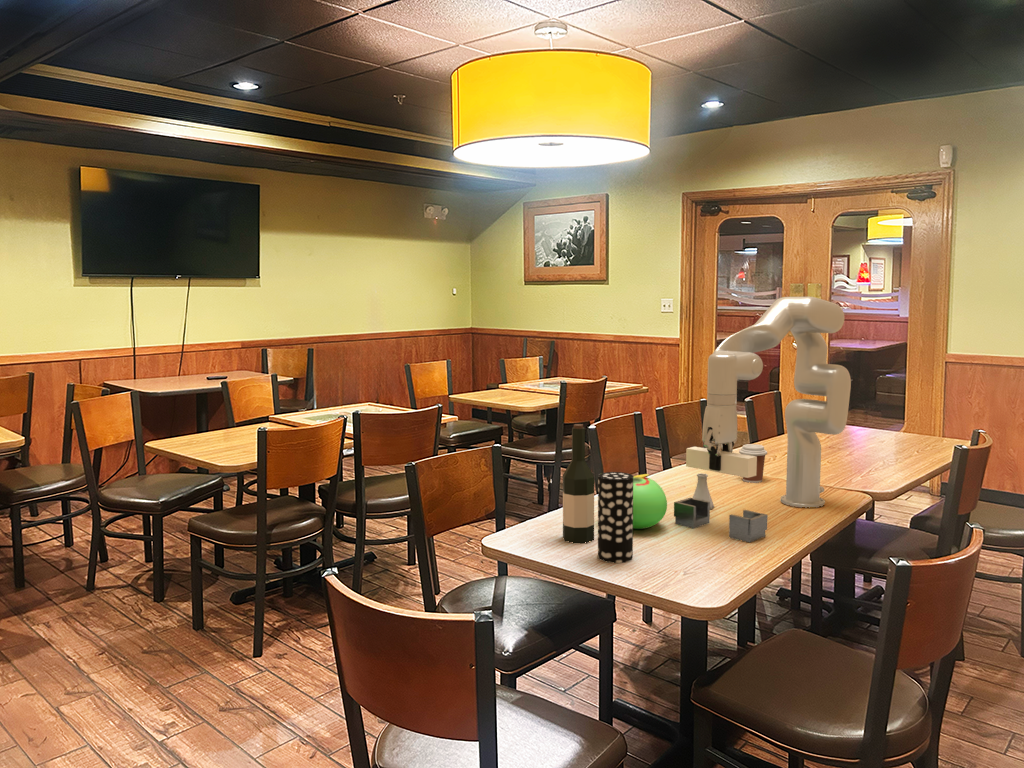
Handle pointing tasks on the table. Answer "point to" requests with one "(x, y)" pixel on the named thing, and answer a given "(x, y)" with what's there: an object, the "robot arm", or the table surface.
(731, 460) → the rail
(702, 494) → the flask
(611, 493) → the white-spotted black cylinder
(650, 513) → the toy bird
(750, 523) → the bracket
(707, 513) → the bracket
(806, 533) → the table surface
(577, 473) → the wine bottle
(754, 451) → the coffee cup
